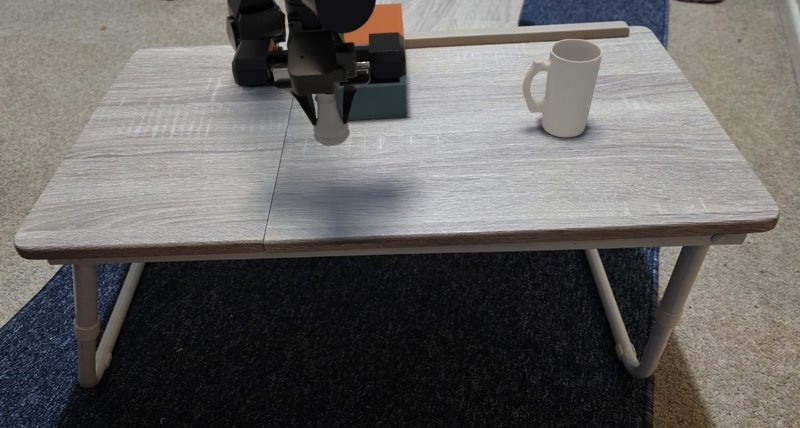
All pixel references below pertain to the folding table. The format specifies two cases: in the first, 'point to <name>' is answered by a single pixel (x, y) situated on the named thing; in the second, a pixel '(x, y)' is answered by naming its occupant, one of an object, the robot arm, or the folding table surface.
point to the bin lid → (379, 24)
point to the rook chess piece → (329, 121)
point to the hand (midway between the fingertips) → (330, 122)
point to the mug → (565, 86)
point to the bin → (377, 99)
